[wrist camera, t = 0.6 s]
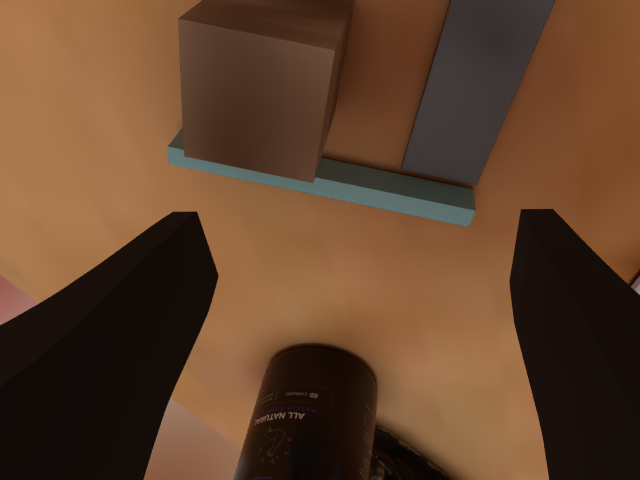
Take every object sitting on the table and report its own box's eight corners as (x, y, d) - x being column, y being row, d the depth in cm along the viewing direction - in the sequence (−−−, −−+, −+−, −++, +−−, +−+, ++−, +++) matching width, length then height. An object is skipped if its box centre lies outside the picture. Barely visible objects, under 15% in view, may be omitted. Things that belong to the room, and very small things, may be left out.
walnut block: (354, -1, 16) (334, 50, 12) (334, 112, 19) (313, 183, 15) (235, -25, 16) (178, 18, 12) (231, 91, 19) (183, 156, 15)
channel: (579, -64, 14) (593, -55, 13) (465, 205, 20) (468, 227, 19) (170, -144, 14) (148, -142, 13) (182, 146, 20) (168, 164, 19)
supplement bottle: (293, 325, 27) (228, 580, 17) (400, 373, 28) (392, 634, 19) (249, 384, 31) (178, 614, 22) (344, 423, 32) (315, 656, 23)
